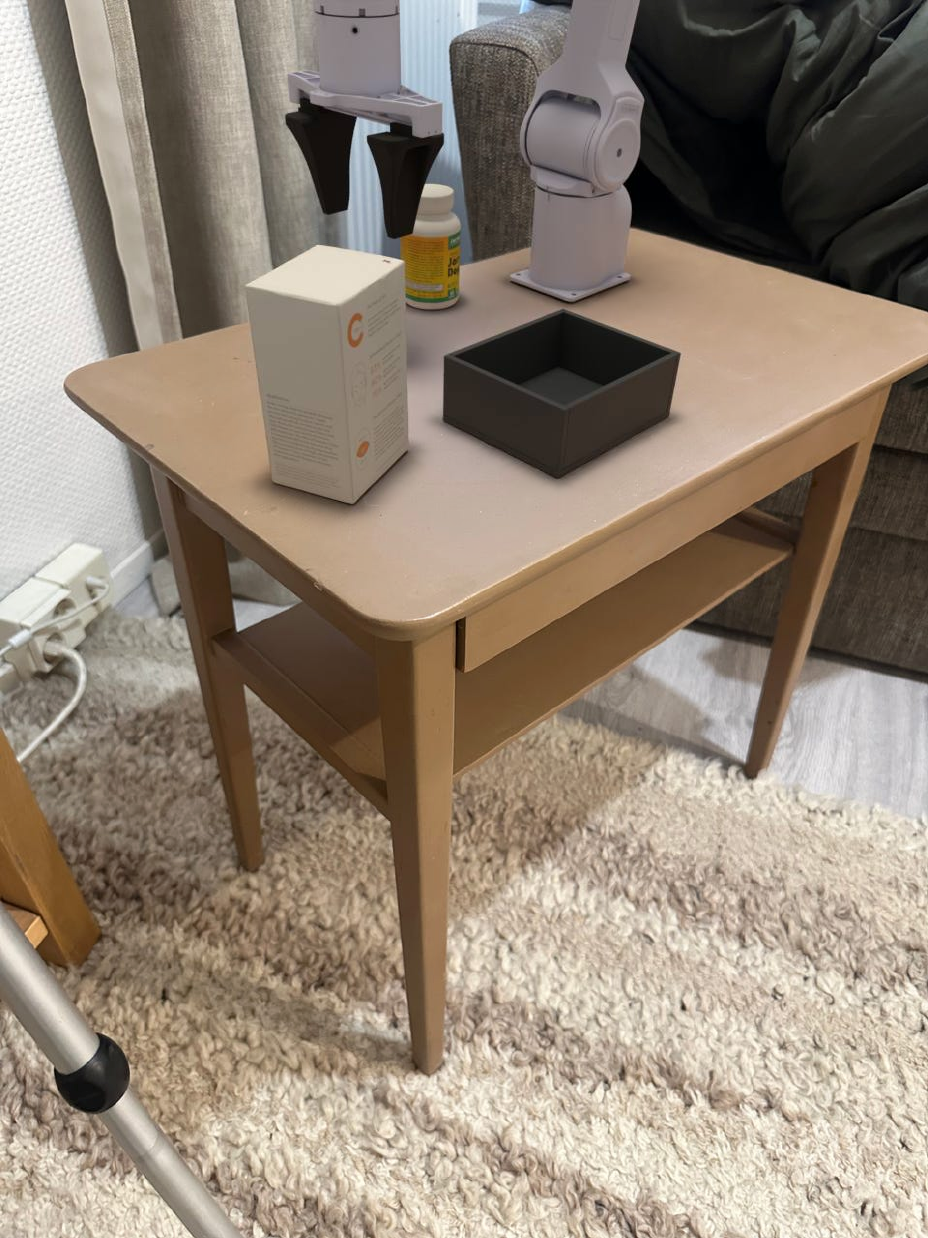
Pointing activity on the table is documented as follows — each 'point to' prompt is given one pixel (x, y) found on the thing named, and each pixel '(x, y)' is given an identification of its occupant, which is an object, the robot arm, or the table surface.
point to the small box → (332, 369)
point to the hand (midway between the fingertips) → (367, 223)
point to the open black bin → (558, 389)
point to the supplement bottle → (433, 251)
